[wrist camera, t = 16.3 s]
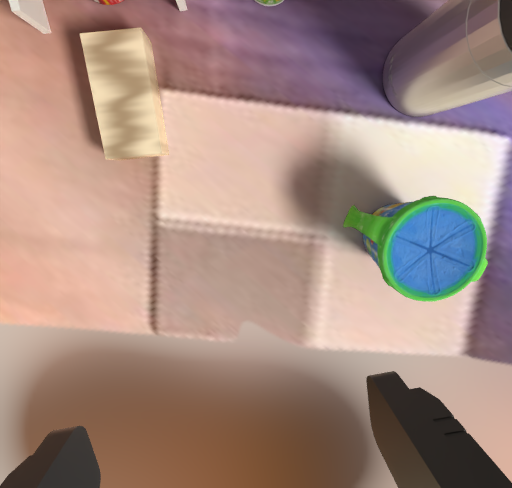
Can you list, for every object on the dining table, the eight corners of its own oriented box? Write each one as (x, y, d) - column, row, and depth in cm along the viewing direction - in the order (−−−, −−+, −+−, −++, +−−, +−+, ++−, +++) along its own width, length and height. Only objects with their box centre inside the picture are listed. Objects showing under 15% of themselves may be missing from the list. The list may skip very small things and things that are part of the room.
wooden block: (140, 27, 32) (161, 153, 34) (151, 43, 36) (169, 154, 38) (79, 33, 32) (105, 159, 34) (97, 48, 35) (119, 160, 38)
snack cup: (316, 240, 41) (340, 262, 31) (360, 166, 39) (400, 164, 29) (415, 293, 43) (466, 329, 34) (460, 224, 42) (529, 241, 32)
